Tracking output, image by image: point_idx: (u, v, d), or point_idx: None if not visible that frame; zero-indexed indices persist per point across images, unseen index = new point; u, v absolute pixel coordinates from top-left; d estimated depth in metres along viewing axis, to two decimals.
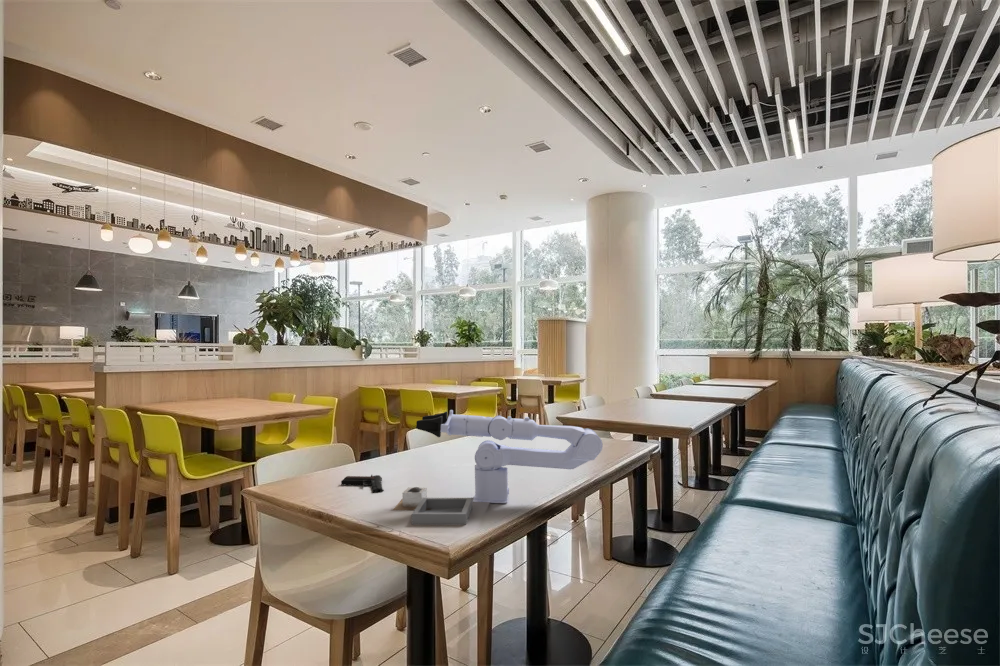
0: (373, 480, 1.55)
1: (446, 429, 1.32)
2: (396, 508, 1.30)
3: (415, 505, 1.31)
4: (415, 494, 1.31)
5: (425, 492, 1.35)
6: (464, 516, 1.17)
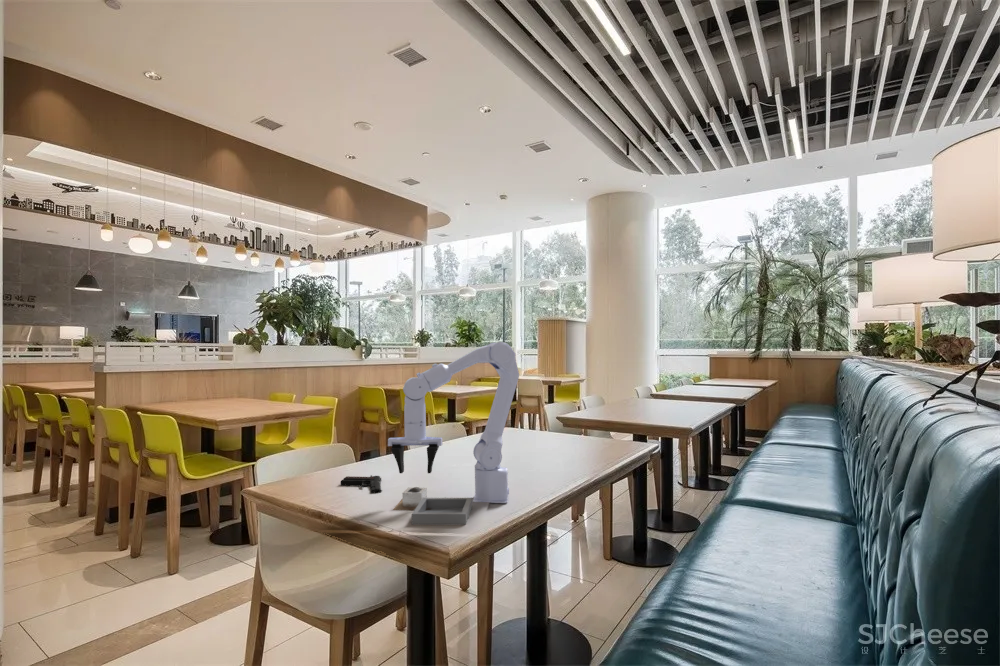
0: (372, 480, 1.54)
1: (441, 439, 1.34)
2: (396, 508, 1.30)
3: (415, 505, 1.31)
4: (415, 494, 1.31)
5: (425, 492, 1.35)
6: (464, 516, 1.17)
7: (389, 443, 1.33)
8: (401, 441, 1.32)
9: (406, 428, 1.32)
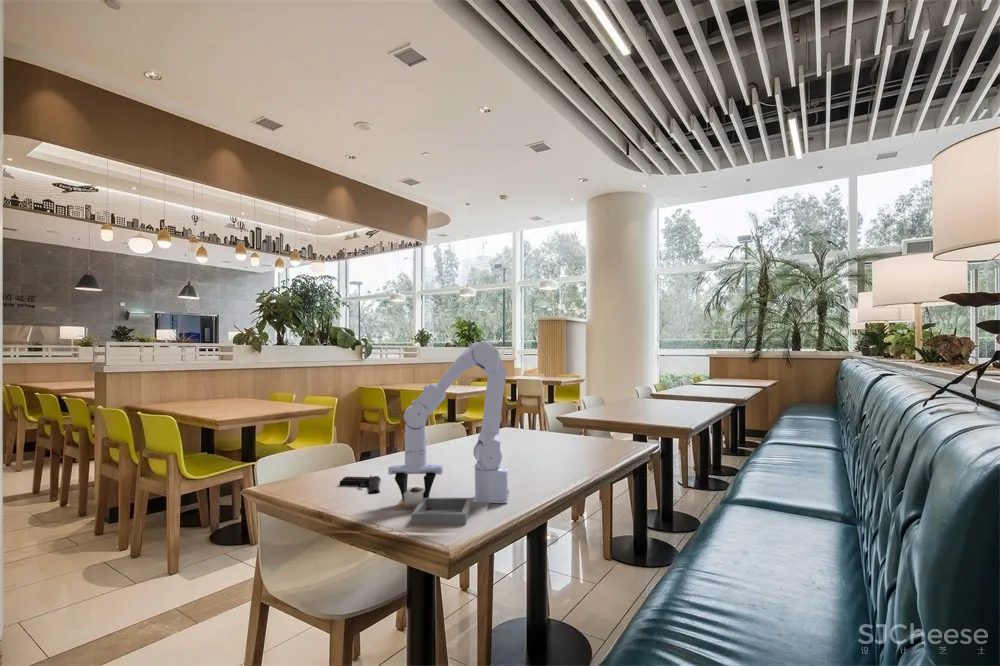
0: (371, 481, 1.54)
1: (442, 467, 1.34)
2: (396, 508, 1.30)
3: (417, 505, 1.31)
4: (416, 494, 1.31)
5: None
6: (464, 516, 1.17)
7: (389, 471, 1.33)
8: (401, 470, 1.32)
9: (406, 457, 1.32)
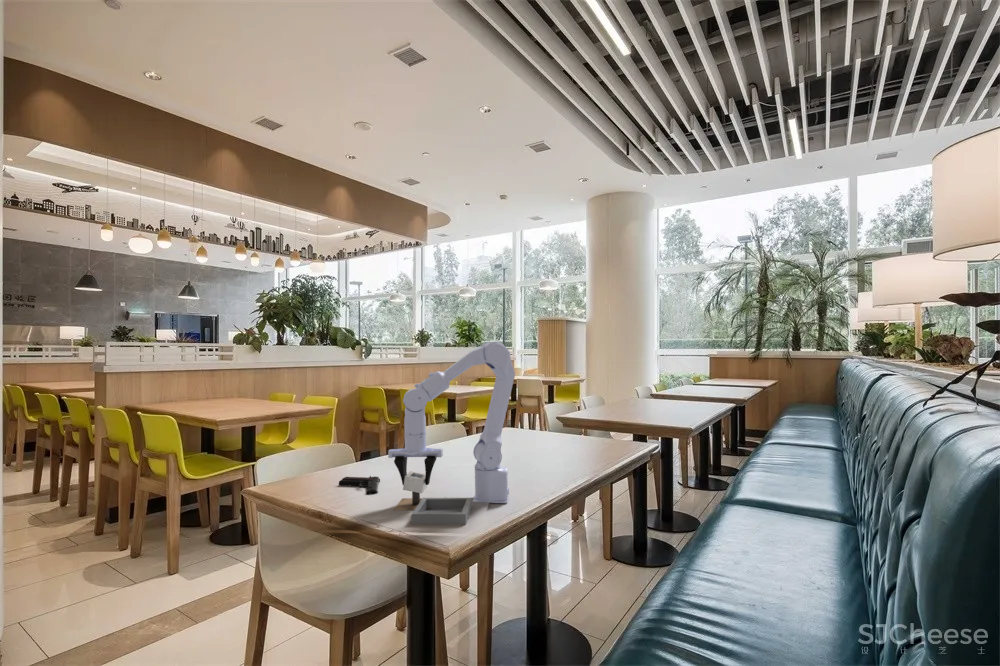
0: (370, 481, 1.53)
1: (442, 450, 1.34)
2: (396, 508, 1.30)
3: (415, 490, 1.31)
4: (417, 480, 1.31)
5: None
6: (464, 516, 1.17)
7: (389, 455, 1.33)
8: (401, 453, 1.32)
9: (406, 440, 1.32)
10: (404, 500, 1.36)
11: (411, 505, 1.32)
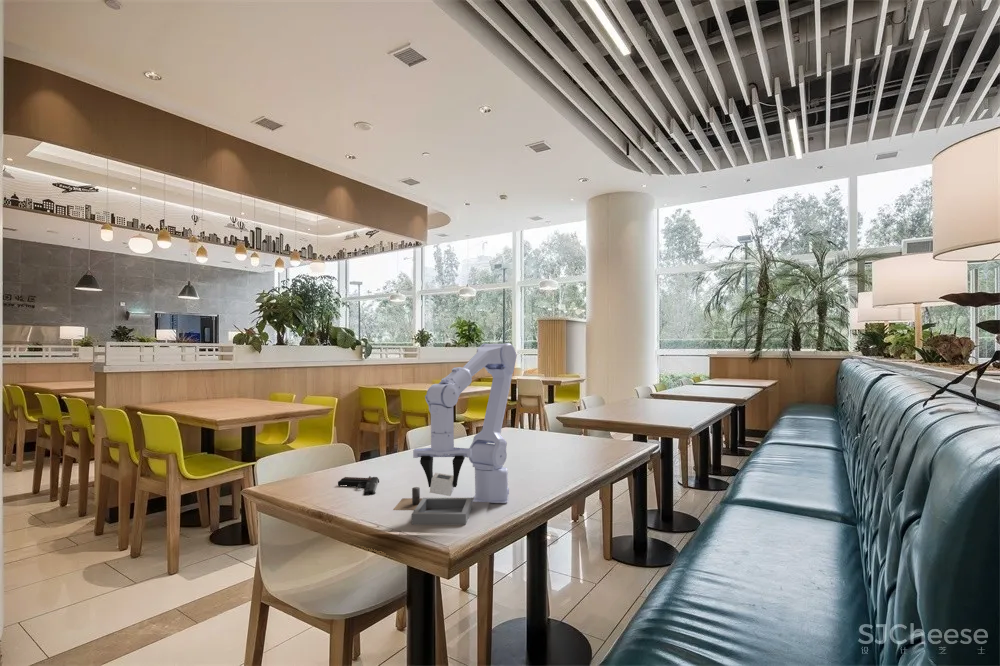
0: (368, 482, 1.53)
1: (471, 450, 1.24)
2: (396, 508, 1.30)
3: (443, 493, 1.22)
4: (445, 481, 1.22)
5: None
6: (464, 516, 1.17)
7: (414, 454, 1.24)
8: (428, 452, 1.23)
9: (433, 438, 1.23)
10: (404, 500, 1.36)
11: (411, 505, 1.32)
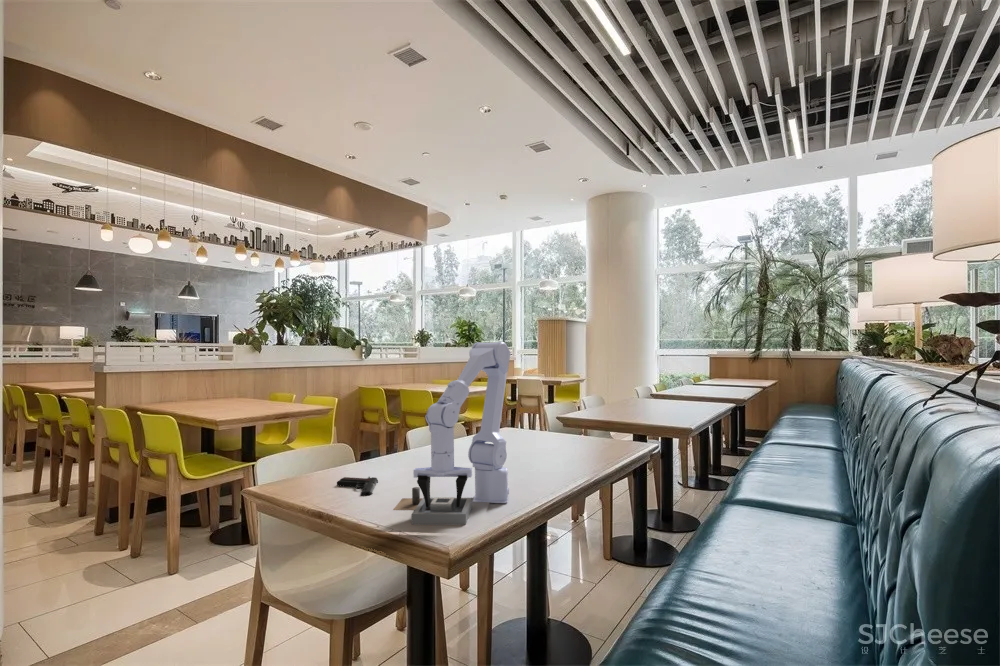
0: (367, 482, 1.52)
1: (471, 469, 1.24)
2: (396, 508, 1.30)
3: None
4: (444, 505, 1.22)
5: (453, 502, 1.25)
6: (464, 516, 1.17)
7: (415, 474, 1.24)
8: (428, 472, 1.23)
9: (433, 458, 1.22)
10: (404, 500, 1.36)
11: (411, 505, 1.32)
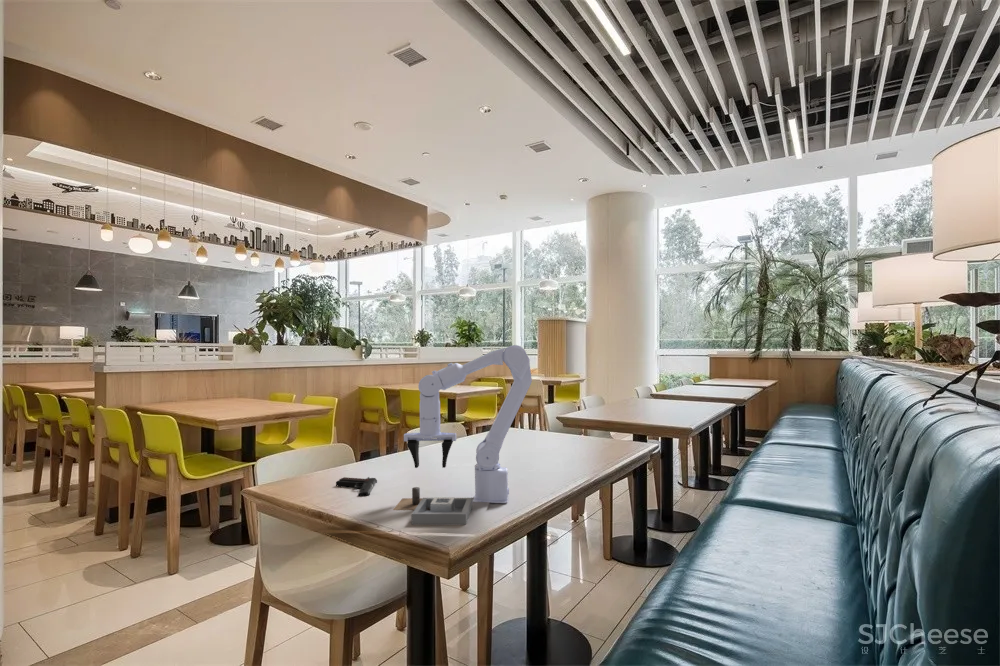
0: (365, 483, 1.52)
1: None
2: (396, 508, 1.30)
3: None
4: (444, 505, 1.22)
5: (453, 502, 1.25)
6: (464, 516, 1.17)
7: (405, 438, 1.38)
8: (417, 436, 1.37)
9: (421, 424, 1.36)
10: (404, 500, 1.36)
11: (411, 505, 1.32)
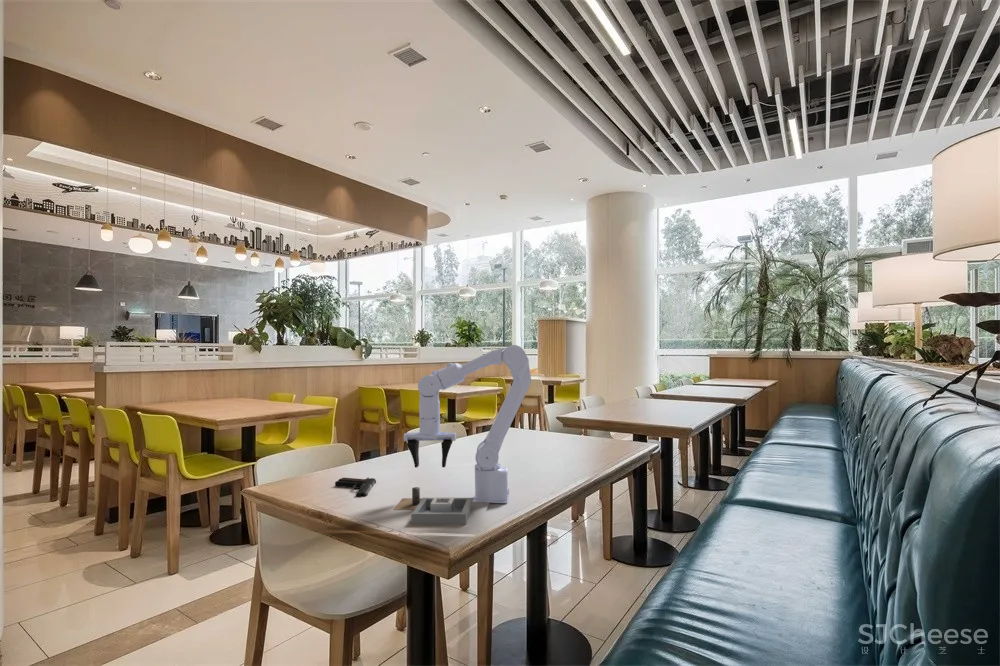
0: (364, 483, 1.51)
1: (455, 434, 1.39)
2: (396, 508, 1.30)
3: None
4: (444, 505, 1.22)
5: (453, 502, 1.25)
6: (464, 516, 1.17)
7: (405, 438, 1.38)
8: (416, 436, 1.37)
9: (421, 424, 1.37)
10: (404, 500, 1.36)
11: (411, 505, 1.32)
